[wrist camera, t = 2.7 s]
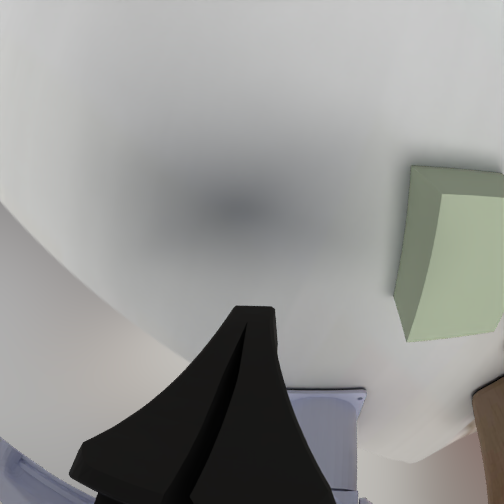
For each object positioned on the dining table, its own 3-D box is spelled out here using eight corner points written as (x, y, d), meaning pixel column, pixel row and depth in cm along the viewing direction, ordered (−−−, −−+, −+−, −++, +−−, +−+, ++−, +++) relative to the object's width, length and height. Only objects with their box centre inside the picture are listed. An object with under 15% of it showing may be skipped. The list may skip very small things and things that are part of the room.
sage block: (471, 288, 16) (494, 331, 12) (392, 293, 17) (406, 342, 13) (499, 172, 11) (541, 201, 8) (409, 164, 13) (441, 193, 9)
